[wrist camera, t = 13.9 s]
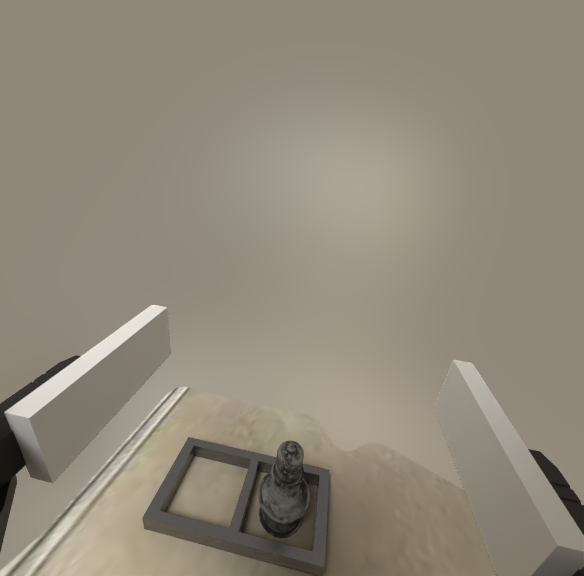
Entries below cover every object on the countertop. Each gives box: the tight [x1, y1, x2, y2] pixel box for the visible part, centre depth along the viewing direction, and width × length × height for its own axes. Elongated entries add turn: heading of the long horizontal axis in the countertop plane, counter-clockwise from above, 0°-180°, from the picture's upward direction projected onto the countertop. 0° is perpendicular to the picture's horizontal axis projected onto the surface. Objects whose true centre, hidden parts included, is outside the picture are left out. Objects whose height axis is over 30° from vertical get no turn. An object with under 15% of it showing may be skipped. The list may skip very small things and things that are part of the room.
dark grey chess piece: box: [259, 441, 310, 538], centre depth 32 cm, size 6×6×12 cm
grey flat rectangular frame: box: [143, 437, 330, 576], centre depth 34 cm, size 20×10×2 cm, turn 81°
